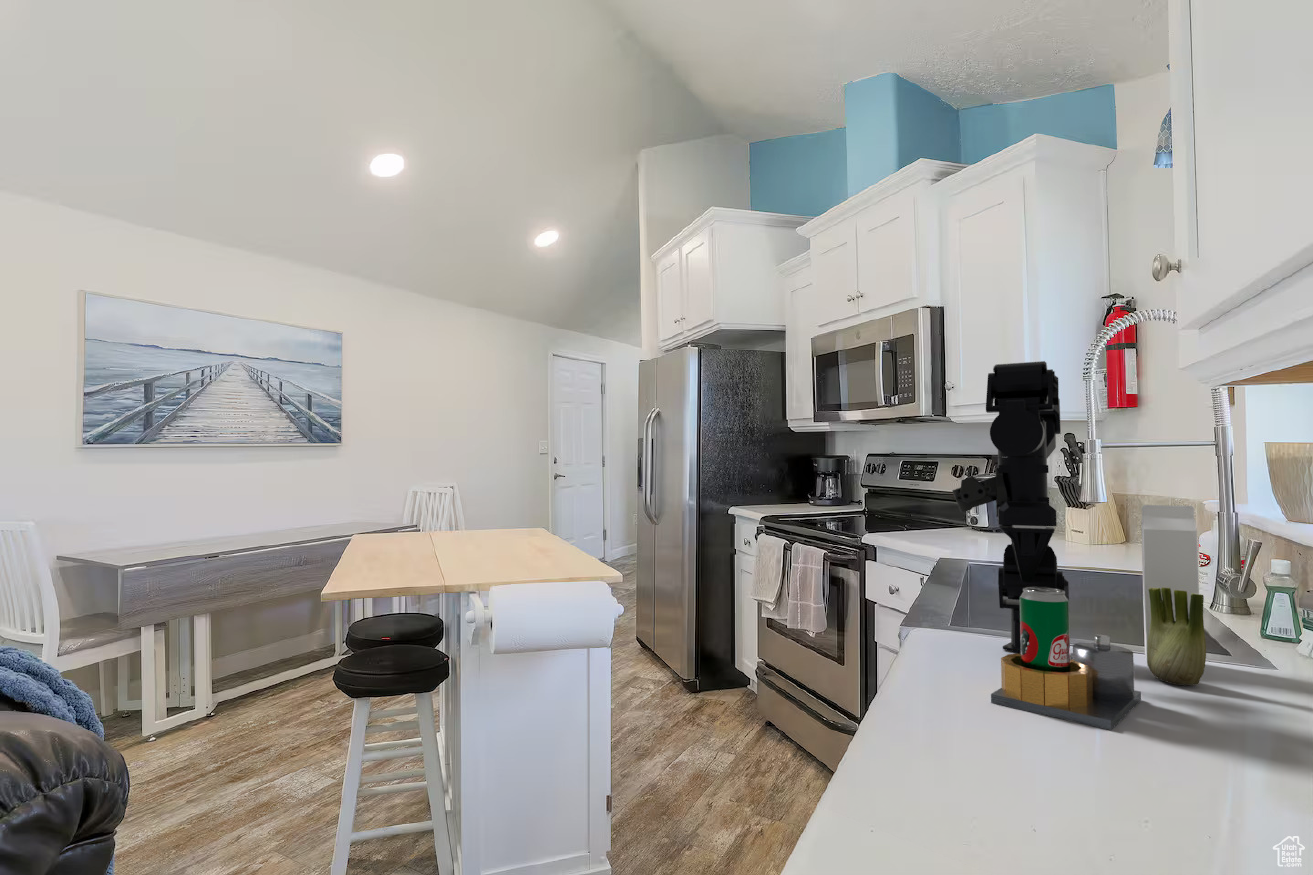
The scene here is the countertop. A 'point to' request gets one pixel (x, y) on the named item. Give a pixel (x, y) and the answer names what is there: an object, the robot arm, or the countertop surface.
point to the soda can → (1045, 629)
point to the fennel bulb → (1176, 637)
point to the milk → (1168, 554)
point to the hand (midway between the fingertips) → (1024, 576)
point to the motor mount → (1074, 685)
